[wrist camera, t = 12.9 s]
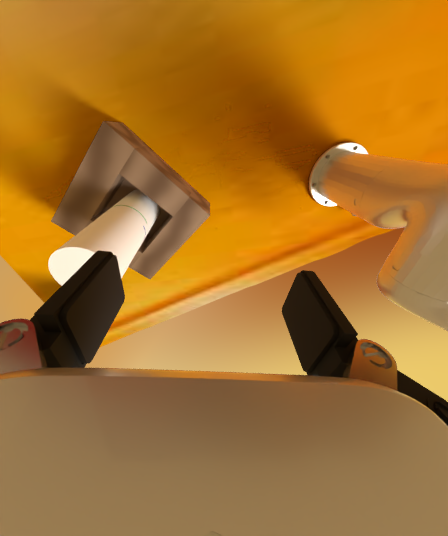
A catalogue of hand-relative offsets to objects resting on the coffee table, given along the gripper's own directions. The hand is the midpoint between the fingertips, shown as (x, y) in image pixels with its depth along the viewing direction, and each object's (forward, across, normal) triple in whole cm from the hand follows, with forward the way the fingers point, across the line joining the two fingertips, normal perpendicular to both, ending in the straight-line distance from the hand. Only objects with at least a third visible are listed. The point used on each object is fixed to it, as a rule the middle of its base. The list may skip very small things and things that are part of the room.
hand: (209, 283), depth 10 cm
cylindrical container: (+36, +15, +9) cm, 39 cm away
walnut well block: (+36, +15, +9) cm, 40 cm away
